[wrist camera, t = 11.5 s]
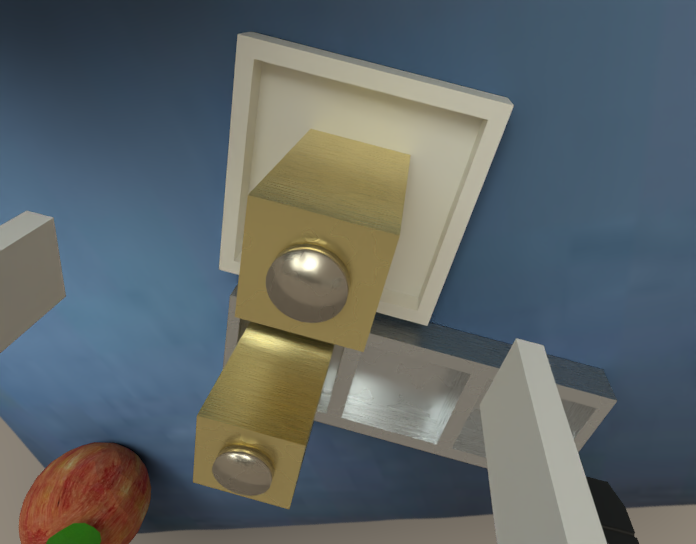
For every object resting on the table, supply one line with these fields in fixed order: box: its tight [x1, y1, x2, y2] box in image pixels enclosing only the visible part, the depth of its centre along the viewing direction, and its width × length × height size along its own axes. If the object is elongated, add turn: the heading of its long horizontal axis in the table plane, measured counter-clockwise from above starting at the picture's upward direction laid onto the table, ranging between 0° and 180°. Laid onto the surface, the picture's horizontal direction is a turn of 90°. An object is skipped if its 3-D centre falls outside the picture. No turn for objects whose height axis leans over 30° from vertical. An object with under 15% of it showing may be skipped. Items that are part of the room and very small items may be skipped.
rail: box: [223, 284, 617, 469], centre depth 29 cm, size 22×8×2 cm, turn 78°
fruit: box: [19, 442, 151, 544], centre depth 35 cm, size 9×10×10 cm
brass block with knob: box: [193, 321, 335, 509], centre depth 25 cm, size 5×5×10 cm
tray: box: [219, 32, 514, 326], centre depth 23 cm, size 12×12×2 cm
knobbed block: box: [235, 129, 411, 352], centre depth 20 cm, size 5×5×10 cm
